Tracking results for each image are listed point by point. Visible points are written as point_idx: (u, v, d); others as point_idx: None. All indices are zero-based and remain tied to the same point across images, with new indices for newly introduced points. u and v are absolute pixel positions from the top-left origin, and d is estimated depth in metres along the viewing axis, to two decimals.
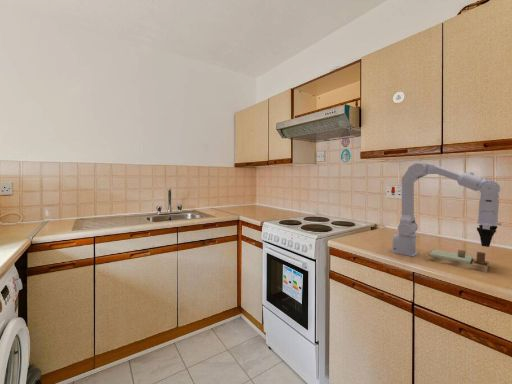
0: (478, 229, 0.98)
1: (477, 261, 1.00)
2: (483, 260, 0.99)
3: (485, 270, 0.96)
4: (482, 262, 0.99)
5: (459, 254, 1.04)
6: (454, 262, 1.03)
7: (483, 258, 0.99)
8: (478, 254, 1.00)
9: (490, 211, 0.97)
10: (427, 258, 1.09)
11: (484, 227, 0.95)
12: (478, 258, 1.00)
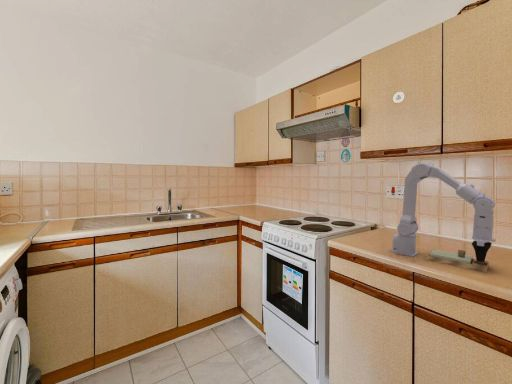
0: (473, 244, 0.99)
1: (477, 261, 1.00)
2: None
3: (485, 270, 0.96)
4: (482, 262, 0.99)
5: (459, 254, 1.04)
6: (454, 262, 1.03)
7: None
8: None
9: (484, 227, 0.97)
10: (427, 258, 1.09)
11: (478, 244, 0.95)
12: None
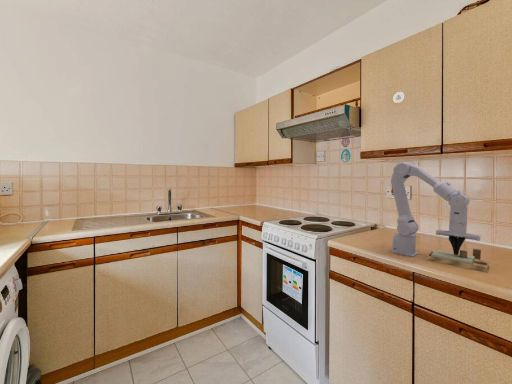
0: None
1: None
2: None
3: (485, 270, 0.96)
4: None
5: (461, 254, 1.04)
6: (454, 262, 1.03)
7: None
8: None
9: (449, 221, 1.07)
10: (427, 258, 1.09)
11: (436, 232, 1.11)
12: (473, 253, 1.09)
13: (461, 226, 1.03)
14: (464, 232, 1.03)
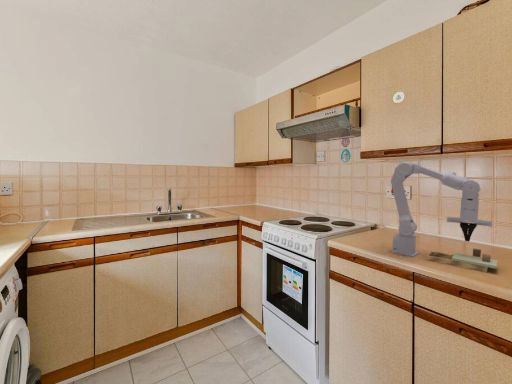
0: None
1: None
2: None
3: (485, 270, 0.96)
4: None
5: (484, 258, 0.99)
6: (454, 262, 1.03)
7: None
8: None
9: None
10: (427, 258, 1.09)
11: (447, 220, 1.11)
12: (473, 253, 1.09)
13: (473, 212, 1.03)
14: (476, 218, 1.03)
